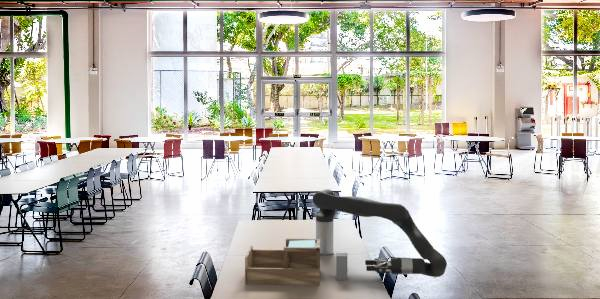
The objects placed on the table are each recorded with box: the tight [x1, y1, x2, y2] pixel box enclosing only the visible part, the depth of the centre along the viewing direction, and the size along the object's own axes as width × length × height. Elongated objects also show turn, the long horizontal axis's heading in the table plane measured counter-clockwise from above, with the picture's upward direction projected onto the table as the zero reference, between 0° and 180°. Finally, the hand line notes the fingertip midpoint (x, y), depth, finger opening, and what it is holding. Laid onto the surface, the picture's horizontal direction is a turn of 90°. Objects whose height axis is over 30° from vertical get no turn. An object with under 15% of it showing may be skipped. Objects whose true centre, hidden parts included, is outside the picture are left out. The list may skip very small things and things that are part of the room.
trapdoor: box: [288, 240, 316, 247], centre depth 275 cm, size 12×12×1 cm
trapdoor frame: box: [244, 238, 321, 286], centre depth 276 cm, size 20×33×16 cm, turn 87°
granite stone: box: [335, 252, 348, 281], centre depth 275 cm, size 5×5×11 cm
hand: (365, 265), depth 275 cm, fingers open, 8 cm apart
